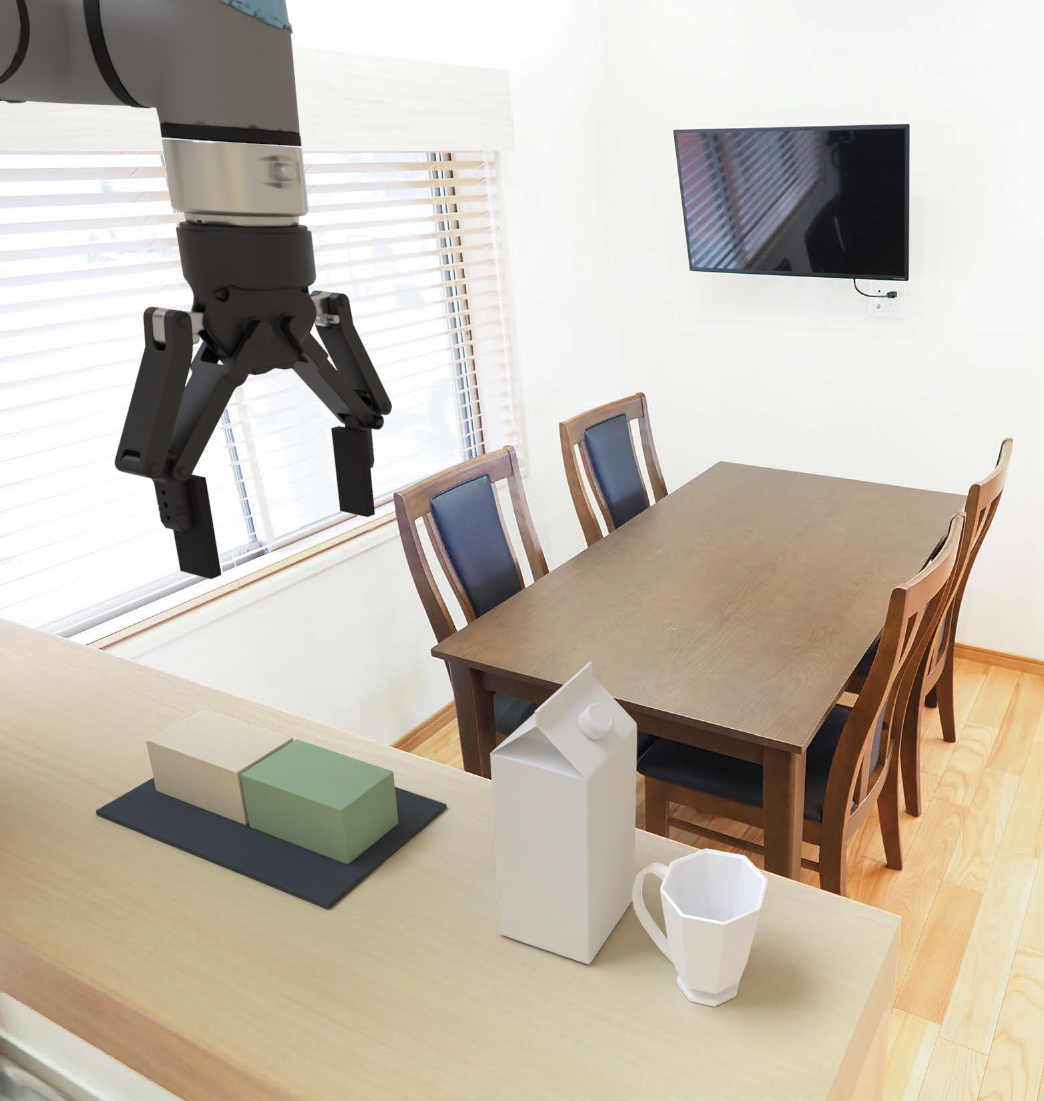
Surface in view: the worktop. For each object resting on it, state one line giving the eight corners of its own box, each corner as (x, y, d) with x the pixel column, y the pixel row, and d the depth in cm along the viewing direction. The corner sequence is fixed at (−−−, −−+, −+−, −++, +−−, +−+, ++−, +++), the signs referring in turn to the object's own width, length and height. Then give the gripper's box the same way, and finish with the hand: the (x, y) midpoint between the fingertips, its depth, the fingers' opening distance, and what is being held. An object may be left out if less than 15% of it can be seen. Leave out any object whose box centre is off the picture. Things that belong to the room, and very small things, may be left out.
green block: (249, 827, 73) (240, 773, 72) (303, 789, 78) (296, 738, 76) (348, 865, 70) (341, 810, 68) (398, 823, 75) (393, 771, 73)
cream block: (300, 788, 78) (293, 737, 77) (245, 825, 74) (236, 772, 72) (213, 757, 82) (204, 707, 80) (155, 791, 77) (145, 739, 75)
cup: (722, 1043, 58) (728, 941, 55) (600, 966, 63) (601, 870, 60) (781, 972, 63) (790, 876, 60) (665, 907, 68) (668, 816, 65)
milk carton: (498, 936, 65) (486, 698, 58) (550, 872, 71) (545, 650, 64) (588, 967, 63) (587, 724, 56) (635, 898, 69) (639, 672, 62)
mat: (96, 814, 75) (95, 810, 74) (234, 735, 86) (233, 731, 86) (328, 909, 66) (327, 905, 66) (446, 807, 78) (446, 803, 77)
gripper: (86, 227, 45) (161, 619, 53) (428, 221, 67) (445, 500, 75) (-14, 217, 48) (71, 593, 56) (346, 214, 70) (372, 485, 77)
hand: (286, 540), depth 65 cm, fingers open, 13 cm apart
